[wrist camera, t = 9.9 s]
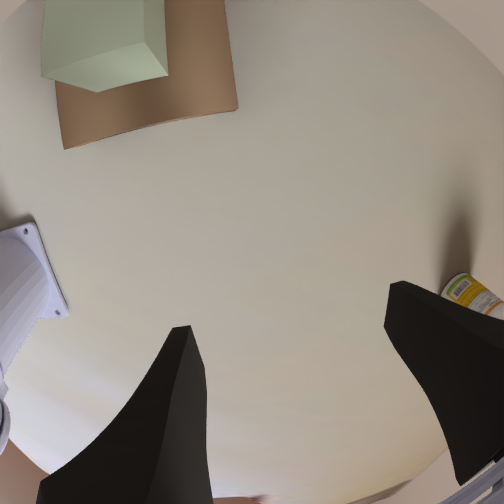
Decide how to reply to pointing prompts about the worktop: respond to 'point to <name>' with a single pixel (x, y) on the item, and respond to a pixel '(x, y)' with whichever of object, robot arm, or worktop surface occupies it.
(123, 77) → the sage-green block
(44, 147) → the worktop surface
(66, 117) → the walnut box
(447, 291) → the supplement bottle
